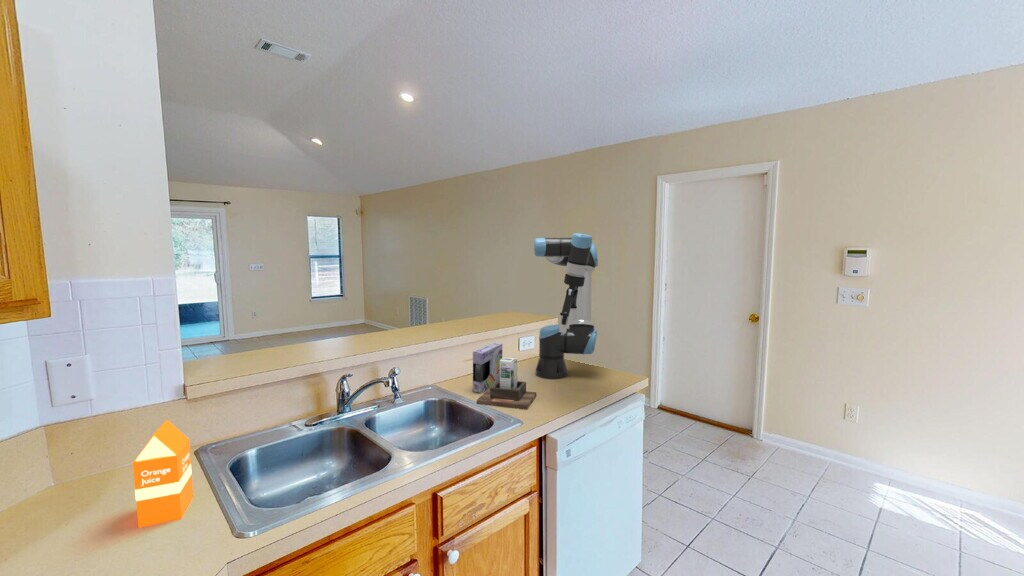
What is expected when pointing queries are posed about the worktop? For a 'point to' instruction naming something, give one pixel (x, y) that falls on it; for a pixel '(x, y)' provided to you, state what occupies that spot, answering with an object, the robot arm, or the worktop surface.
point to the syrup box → (508, 373)
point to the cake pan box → (486, 366)
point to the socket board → (508, 396)
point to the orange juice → (163, 477)
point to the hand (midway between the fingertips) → (565, 328)
